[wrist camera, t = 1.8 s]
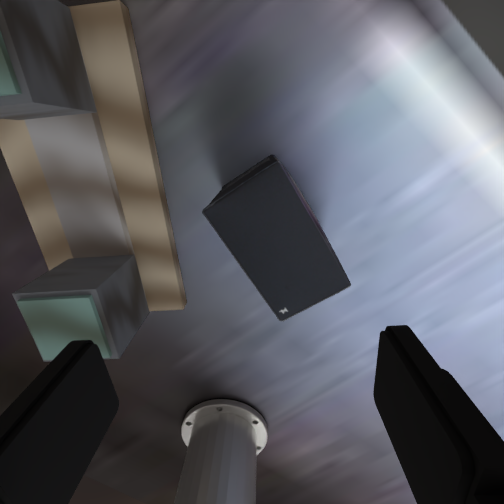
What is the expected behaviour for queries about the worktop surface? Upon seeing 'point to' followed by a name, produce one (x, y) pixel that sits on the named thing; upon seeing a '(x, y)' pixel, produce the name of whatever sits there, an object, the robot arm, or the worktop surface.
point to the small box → (276, 239)
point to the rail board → (85, 174)
